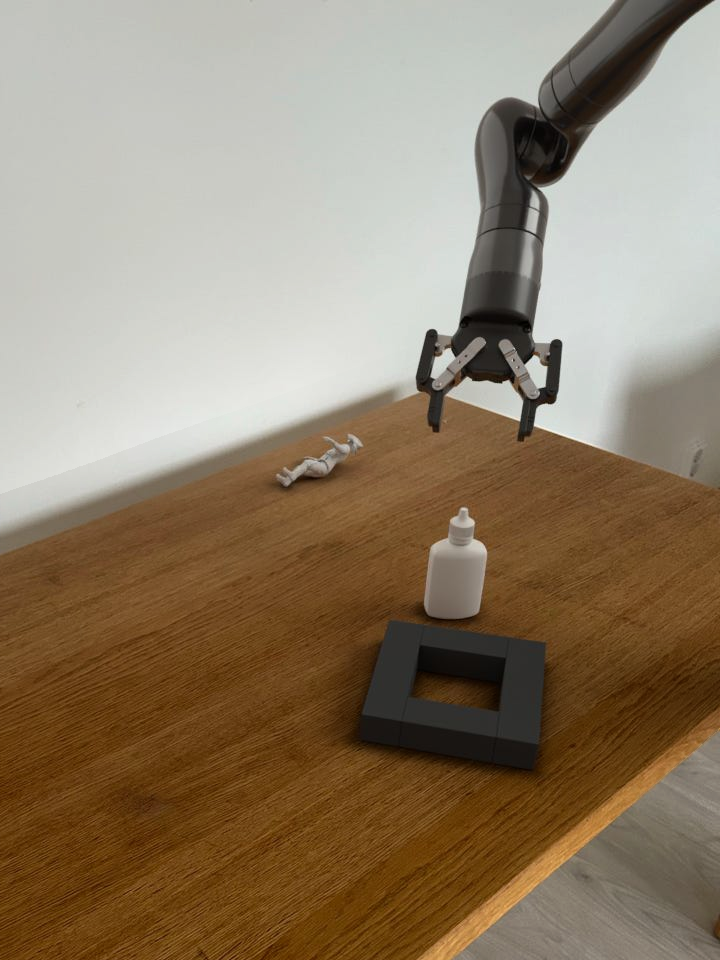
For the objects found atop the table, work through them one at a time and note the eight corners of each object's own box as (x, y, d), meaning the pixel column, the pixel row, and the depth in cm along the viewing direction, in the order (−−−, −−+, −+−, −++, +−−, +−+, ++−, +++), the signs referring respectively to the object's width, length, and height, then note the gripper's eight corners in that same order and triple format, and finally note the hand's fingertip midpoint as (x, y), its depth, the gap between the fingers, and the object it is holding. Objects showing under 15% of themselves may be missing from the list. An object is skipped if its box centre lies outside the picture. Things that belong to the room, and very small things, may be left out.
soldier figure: (266, 483, 132) (327, 430, 136) (291, 511, 132) (351, 458, 136) (287, 463, 125) (350, 408, 129) (312, 493, 125) (375, 437, 129)
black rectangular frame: (541, 667, 98) (546, 642, 96) (533, 770, 86) (538, 744, 84) (386, 643, 101) (389, 619, 100) (359, 740, 90) (361, 714, 88)
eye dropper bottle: (431, 594, 109) (443, 493, 102) (483, 606, 106) (498, 505, 99) (418, 615, 105) (429, 513, 98) (471, 628, 103) (486, 525, 96)
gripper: (432, 263, 103) (406, 413, 101) (577, 272, 100) (553, 428, 98) (434, 300, 111) (409, 440, 108) (569, 309, 107) (547, 455, 105)
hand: (478, 434), depth 103 cm, fingers open, 8 cm apart
